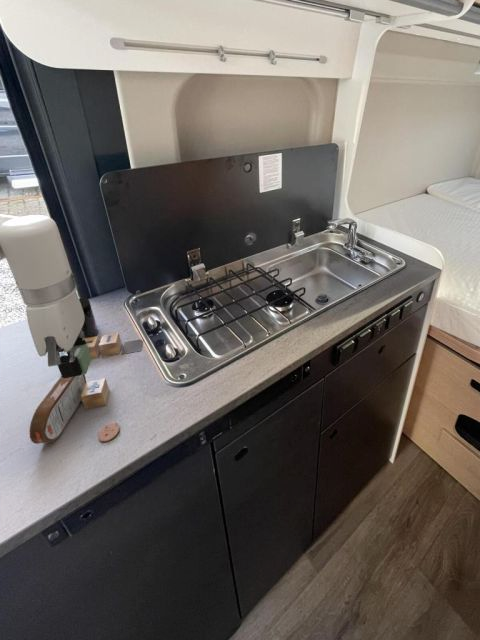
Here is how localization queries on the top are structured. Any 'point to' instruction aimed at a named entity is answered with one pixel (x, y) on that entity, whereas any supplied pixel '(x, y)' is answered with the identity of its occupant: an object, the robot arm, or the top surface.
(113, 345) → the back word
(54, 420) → the tin
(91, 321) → the supplement container
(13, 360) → the top surface
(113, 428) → the cookie
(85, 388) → the front word
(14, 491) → the top surface
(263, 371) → the top surface
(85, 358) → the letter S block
